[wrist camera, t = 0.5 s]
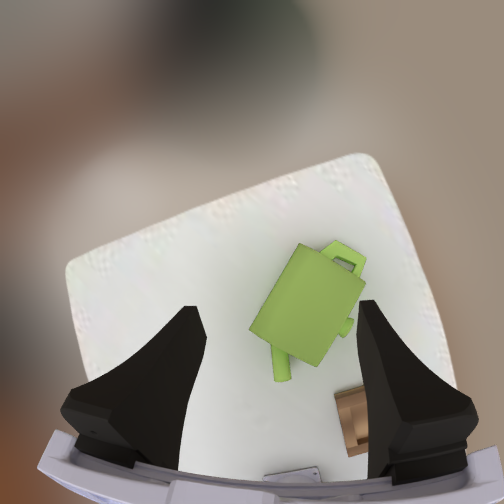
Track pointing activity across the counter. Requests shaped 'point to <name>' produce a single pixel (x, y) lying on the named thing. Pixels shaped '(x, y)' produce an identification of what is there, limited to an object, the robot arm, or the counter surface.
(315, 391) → the counter surface
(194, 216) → the counter surface
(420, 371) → the robot arm
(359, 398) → the pocket block
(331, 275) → the gearbox
